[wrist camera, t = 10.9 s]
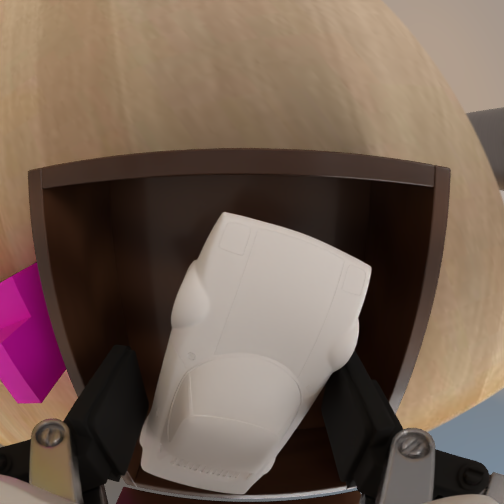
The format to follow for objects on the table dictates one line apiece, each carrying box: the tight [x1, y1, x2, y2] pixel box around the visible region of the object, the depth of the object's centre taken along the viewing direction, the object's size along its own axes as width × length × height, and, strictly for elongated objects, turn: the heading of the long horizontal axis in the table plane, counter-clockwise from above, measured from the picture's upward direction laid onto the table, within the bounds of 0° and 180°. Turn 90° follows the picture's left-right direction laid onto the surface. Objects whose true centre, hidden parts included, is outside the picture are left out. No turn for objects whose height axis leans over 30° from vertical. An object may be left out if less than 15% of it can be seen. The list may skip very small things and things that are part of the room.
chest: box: [28, 148, 451, 499], centre depth 14 cm, size 20×16×7 cm
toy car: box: [140, 212, 371, 494], centre depth 9 cm, size 6×12×3 cm, turn 160°
